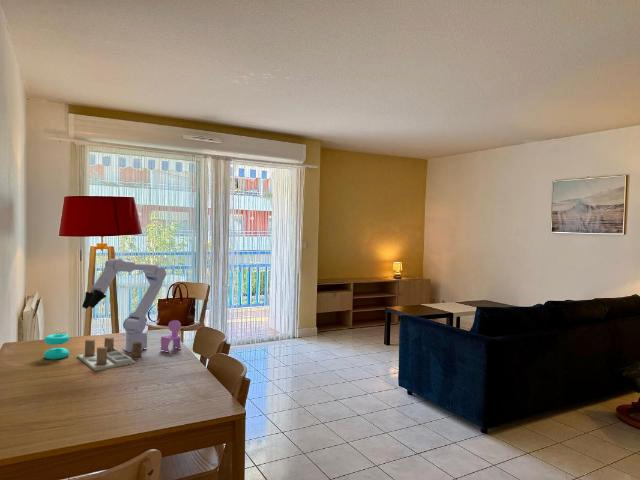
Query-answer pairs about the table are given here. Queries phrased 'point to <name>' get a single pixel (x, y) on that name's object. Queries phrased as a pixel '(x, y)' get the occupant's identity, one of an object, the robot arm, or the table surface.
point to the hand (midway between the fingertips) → (87, 307)
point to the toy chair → (171, 336)
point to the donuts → (56, 352)
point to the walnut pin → (137, 350)
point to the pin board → (104, 355)
